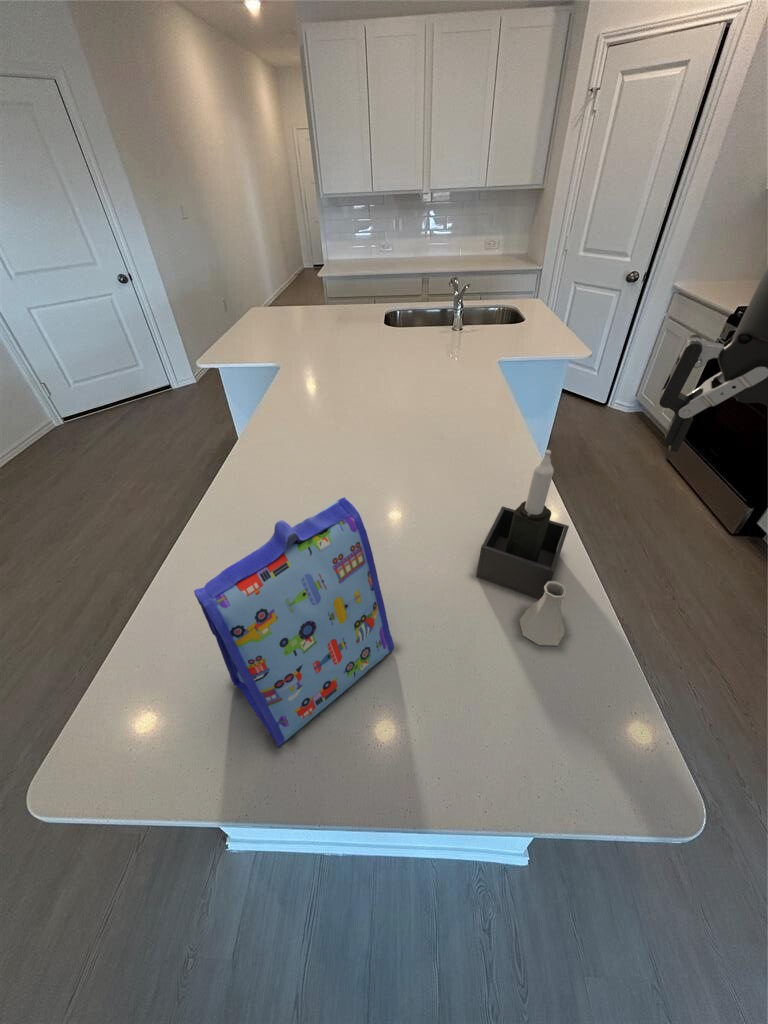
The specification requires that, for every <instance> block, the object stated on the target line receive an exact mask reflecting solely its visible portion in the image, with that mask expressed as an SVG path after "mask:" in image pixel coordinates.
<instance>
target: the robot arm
mask: <svg viewBox="0 0 768 1024" xmlns="http://www.w3.org/2000/svg"><path fill="white" fill-rule="evenodd" d="M712 359H717V363H718V365H719V369H720V371H719V372H717V373H716V374H714V375H713V376H711V377H709V378H708V379H706V380H705V381H704V382H703V383H702V384H701V385H700V386H698V387H697V388H695V389H693V390H692V391H690V392H689V393H687V394H684V393H682V390H683V388H684V386H685V384H686V382H687V381H688V379H689V377H690V375H691V373H692V371H693V369H699V368H702V367H704V366H705V365H706V363H707V362H709V361H710V360H712ZM730 398H734V399H735V400H736V402H738V403H745V404H761V405H763V406H766V407H768V265H767V266H766V268H765V270H764V272H763V274H762V277H761V278H760V281H759V282H758V284H757V287H756V289H755V291H754V293H753V295H752V297H751V299H750V301H749V303H748V305H747V307H746V309H745V311H744V313H743V316H742V317H741V320H740V322H739V324H738V325H737V328H736V330H735V332H734V333H733V334H732V336H731V337H730V338H729V339H728V340H726V342H725V341H724V343H719V342H714V341H708V340H703V338H702V336H701V335H700V334H691V335H689V336H688V337H687V338H686V340H685V341H684V343H683V345H682V347H681V349H680V351H679V353H678V356H677V358H676V360H675V361H674V363H673V365H672V368H671V369H670V371H669V374H668V376H667V378H666V380H665V382H664V384H663V386H662V388H661V390H660V396H659V406H660V407H662V408H663V409H669V410H671V411H673V412H674V414H673V416H672V417H671V421H670V423H669V425H668V427H667V429H666V431H665V437H664V443H665V444H664V445H665V446H668V452H671V453H675V454H678V452H679V450H680V448H681V447H682V446H681V445H682V444H683V442H684V440H685V438H686V436H687V434H688V432H689V429H690V427H691V426H692V424H693V421H694V416H696V415H697V414H699V413H701V412H703V411H704V410H706V409H708V408H710V407H715V406H717V405H719V404H721V403H722V402H724V401H726V400H728V399H730Z"/></svg>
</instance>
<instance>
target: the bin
mask: <svg viewBox="0 0 768 1024" xmlns="http://www.w3.org/2000/svg"><path fill="white" fill-rule="evenodd" d="M515 510H516V509H513V508H509V507H506V506H503V505H502V506H501V508H500V509H499V512H498V513H497V516H496V518H495V519H494V521H493V523H492V525H491V527H490V529H489V531H488V532H487V535H486V537H485V539H484V540H483V542H482V544H481V546H480V550H479V558H478V561H477V569H476V575H475V577H476V578H478V579H481V580H483V581H487V582H490V583H492V584H495V585H498V586H500V587H503V588H506V589H509V590H512V591H514V592H517V593H520V594H522V595H525V596H528V597H530V598H533V599H537V600H539V599H540V598H542V597H543V595H544V592H545V590H544V586H545V585H546V583H547V582H548V581H552V579H553V578H554V574H555V571H556V567H557V565H558V562H559V558H560V555H561V552H562V549H563V546H564V543H565V540H566V537H567V534H568V531H569V528H570V525H569V524H568V525H567V524H565V523H560V522H557V521H553V520H551V519H550V520H549V524H548V527H547V531H546V534H545V537H544V541H543V544H542V547H541V551H540V554H539V558H538V561H537V563H536V562H533V561H530V560H527V559H524V558H521V557H518V556H515V555H512V554H509V553H506V547H507V543H508V538H509V534H510V529H511V525H512V520H513V516H514V511H515Z"/></svg>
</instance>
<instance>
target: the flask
mask: <svg viewBox="0 0 768 1024" xmlns="http://www.w3.org/2000/svg"><path fill="white" fill-rule="evenodd" d="M544 590H545V592H544V595H543V597H542V598H540V599H537V601H536V602H534V603H533V604H532V605H531V606H529V607H528V608H527V609H526V610H525V611H524V613H523V615H522V616H521V617H520V619H519V620H518V621H519V625H520V630H521V634H522V636H523V637H524V638H526V639H528V640H530V641H531V642H533V643H535V644H537V645H538V646H553V647H554V646H555V647H556V646H559V645H560V642H561V640H562V639H563V637H564V636H565V634H566V632H565V625H564V621H563V616H562V615H563V614H562V600H563V599H564V598H565V596H566V595H567V589H566V586H565V585H564V584H562V583H560V582H558V581H555V580H553V581H552V580H551V581H548V582H547V583H546V585H545V586H544Z"/></svg>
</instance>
